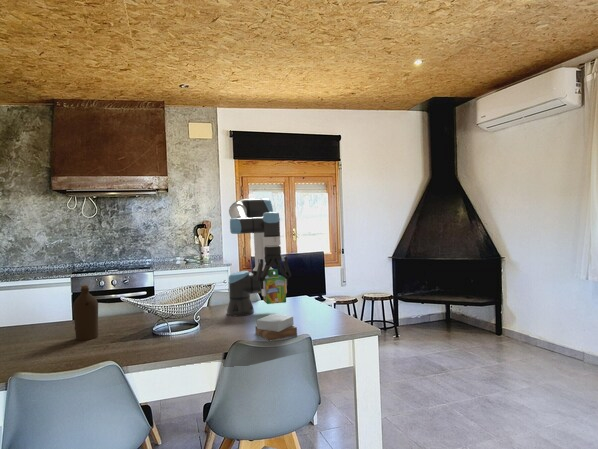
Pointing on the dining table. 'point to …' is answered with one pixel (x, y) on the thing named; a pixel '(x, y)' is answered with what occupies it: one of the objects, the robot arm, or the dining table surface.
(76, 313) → the olive oil
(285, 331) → the walnut slab
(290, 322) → the grey slab
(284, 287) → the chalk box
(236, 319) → the dining table surface
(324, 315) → the dining table surface
